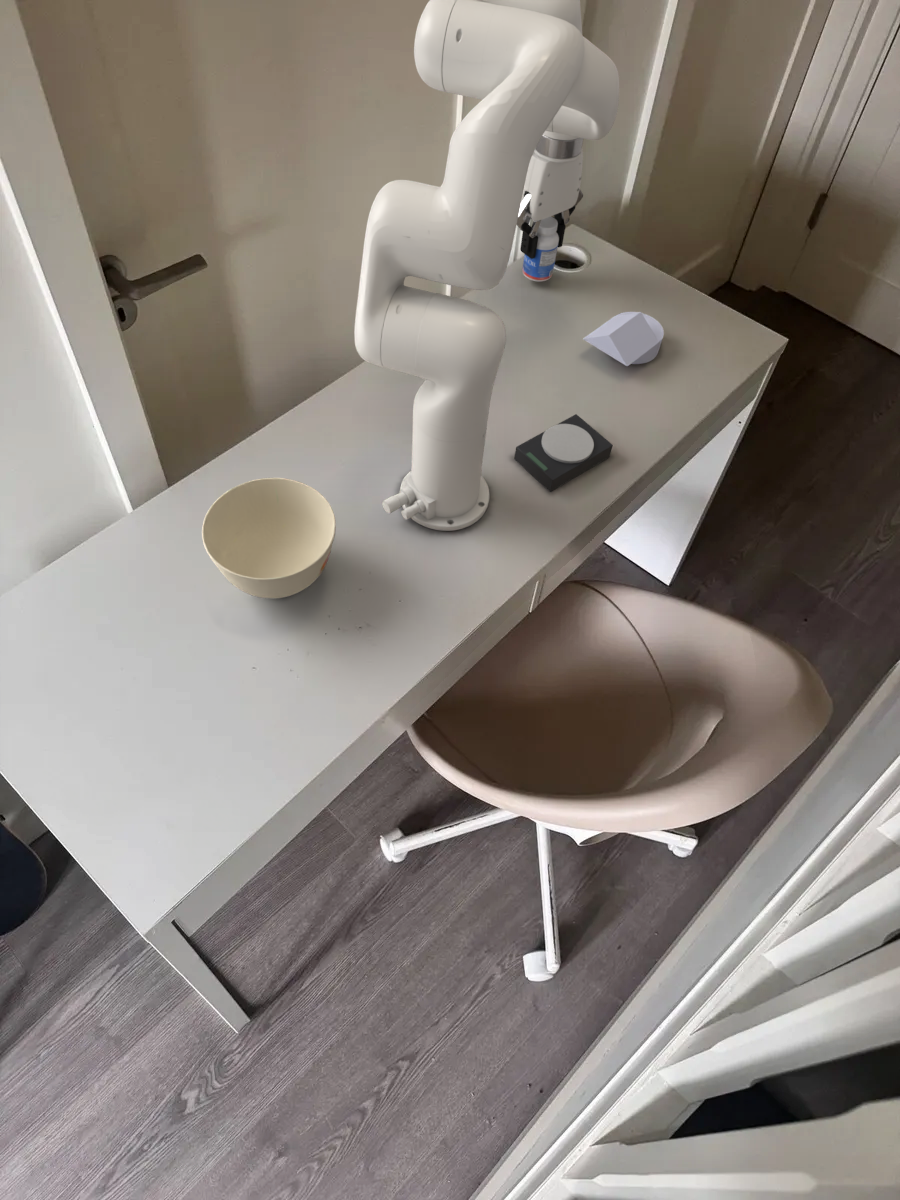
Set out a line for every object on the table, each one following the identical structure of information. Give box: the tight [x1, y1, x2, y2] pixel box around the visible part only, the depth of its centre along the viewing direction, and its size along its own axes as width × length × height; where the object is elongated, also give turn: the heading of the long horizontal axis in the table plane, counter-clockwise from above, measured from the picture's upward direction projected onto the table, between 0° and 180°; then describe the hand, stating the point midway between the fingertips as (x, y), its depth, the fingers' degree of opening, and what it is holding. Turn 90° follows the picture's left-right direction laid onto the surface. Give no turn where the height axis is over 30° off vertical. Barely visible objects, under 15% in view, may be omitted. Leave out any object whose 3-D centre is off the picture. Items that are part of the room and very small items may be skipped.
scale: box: [513, 413, 614, 493], centre depth 126 cm, size 12×8×3 cm, turn 128°
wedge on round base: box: [582, 311, 665, 367], centre depth 139 cm, size 9×7×13 cm
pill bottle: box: [521, 216, 559, 283], centre depth 146 cm, size 6×5×10 cm
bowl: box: [201, 477, 337, 599], centre depth 108 cm, size 16×16×10 cm
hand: (541, 248), depth 146 cm, fingers closed on pill bottle, 5 cm apart
